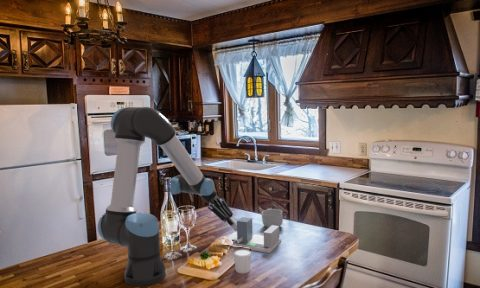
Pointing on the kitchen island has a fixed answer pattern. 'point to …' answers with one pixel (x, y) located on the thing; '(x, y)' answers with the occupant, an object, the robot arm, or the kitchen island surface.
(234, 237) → the board
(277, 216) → the teacup
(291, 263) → the kitchen island surface
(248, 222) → the block
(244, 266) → the white cylinder
